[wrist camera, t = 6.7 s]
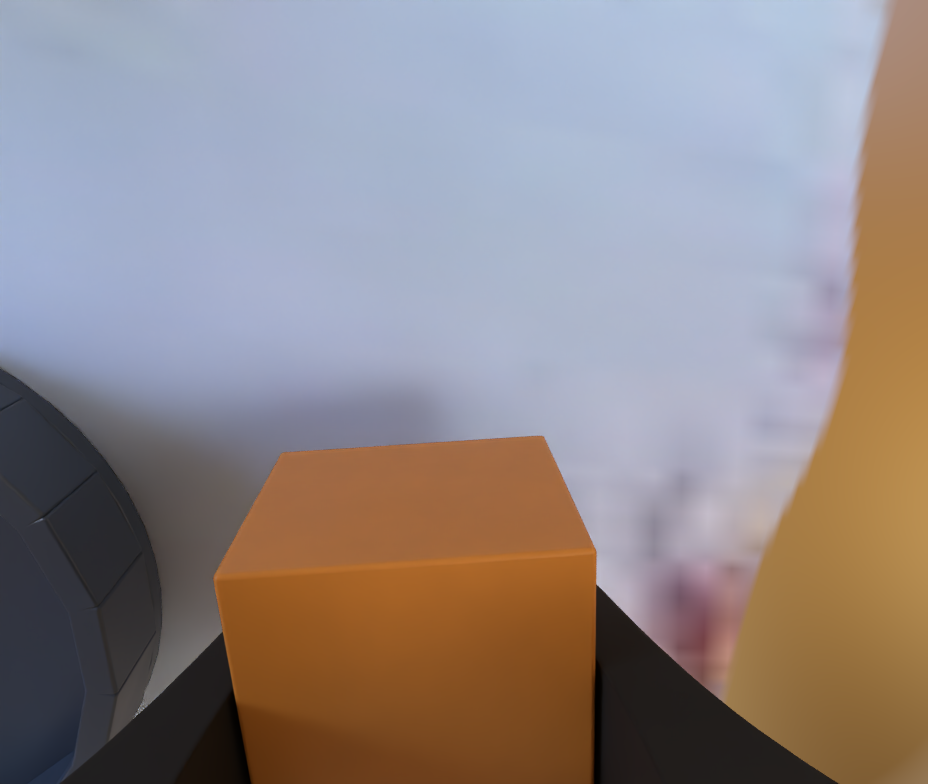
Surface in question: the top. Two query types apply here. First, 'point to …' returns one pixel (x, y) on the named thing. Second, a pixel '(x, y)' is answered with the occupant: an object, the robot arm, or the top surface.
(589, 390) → the top surface
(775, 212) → the top surface
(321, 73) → the top surface
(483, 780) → the soap
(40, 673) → the tin
